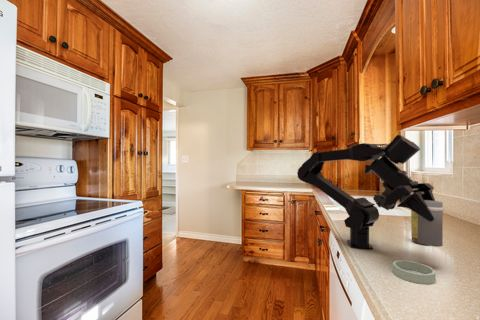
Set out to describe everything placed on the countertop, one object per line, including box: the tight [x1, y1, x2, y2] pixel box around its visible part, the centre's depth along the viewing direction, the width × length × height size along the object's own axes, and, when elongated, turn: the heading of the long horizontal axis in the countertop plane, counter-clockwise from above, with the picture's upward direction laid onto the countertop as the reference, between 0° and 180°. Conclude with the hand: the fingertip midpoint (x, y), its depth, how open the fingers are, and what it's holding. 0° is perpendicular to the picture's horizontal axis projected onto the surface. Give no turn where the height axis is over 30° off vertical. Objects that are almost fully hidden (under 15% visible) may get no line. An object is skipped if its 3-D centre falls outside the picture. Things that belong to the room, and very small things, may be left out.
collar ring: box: [392, 259, 436, 285], centre depth 58 cm, size 8×8×2 cm
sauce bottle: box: [410, 210, 422, 245], centre depth 83 cm, size 6×6×20 cm
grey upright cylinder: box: [418, 200, 444, 248], centre depth 64 cm, size 5×5×11 cm
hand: (436, 219), depth 63 cm, fingers closed on grey upright cylinder, 5 cm apart
